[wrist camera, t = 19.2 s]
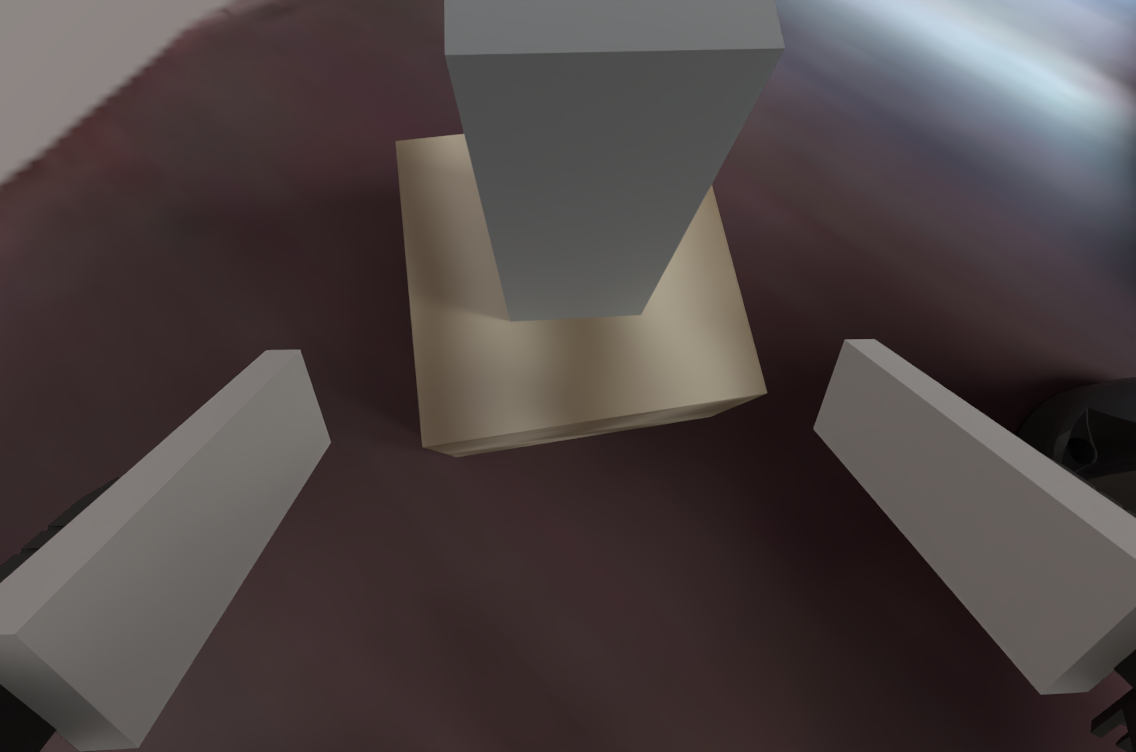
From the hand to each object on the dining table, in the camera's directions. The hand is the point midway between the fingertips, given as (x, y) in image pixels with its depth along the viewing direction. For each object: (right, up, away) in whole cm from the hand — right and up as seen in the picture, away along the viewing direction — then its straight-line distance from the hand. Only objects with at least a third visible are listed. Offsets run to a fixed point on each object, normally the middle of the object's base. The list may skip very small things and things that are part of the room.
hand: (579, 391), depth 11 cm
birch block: (0, +4, +15) cm, 15 cm away
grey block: (0, +5, +8) cm, 10 cm away
